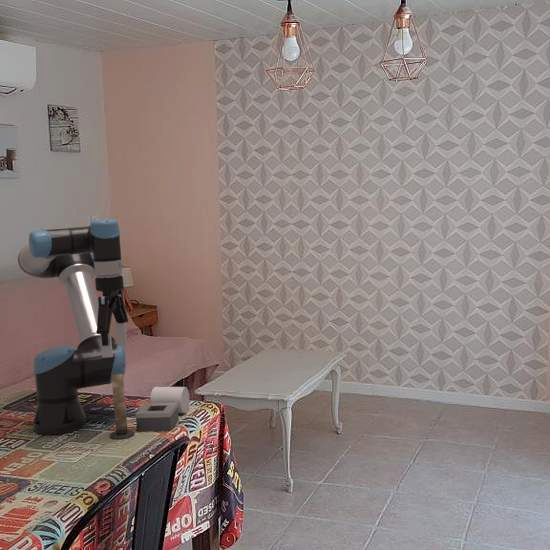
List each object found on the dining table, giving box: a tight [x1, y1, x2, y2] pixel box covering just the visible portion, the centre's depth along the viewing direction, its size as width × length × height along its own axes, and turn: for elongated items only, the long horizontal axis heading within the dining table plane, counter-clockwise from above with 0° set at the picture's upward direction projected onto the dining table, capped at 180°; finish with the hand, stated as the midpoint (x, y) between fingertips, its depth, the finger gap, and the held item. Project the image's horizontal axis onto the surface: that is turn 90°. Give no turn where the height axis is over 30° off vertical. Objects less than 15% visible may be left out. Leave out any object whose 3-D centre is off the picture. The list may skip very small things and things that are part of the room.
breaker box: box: [135, 402, 180, 432], centre depth 219 cm, size 10×10×5 cm
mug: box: [149, 386, 190, 414], centre depth 233 cm, size 12×10×8 cm
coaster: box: [109, 429, 135, 441], centre depth 213 cm, size 7×7×1 cm
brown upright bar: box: [111, 374, 128, 435], centre depth 211 cm, size 3×3×17 cm
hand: (115, 351), depth 210 cm, fingers open, 13 cm apart
